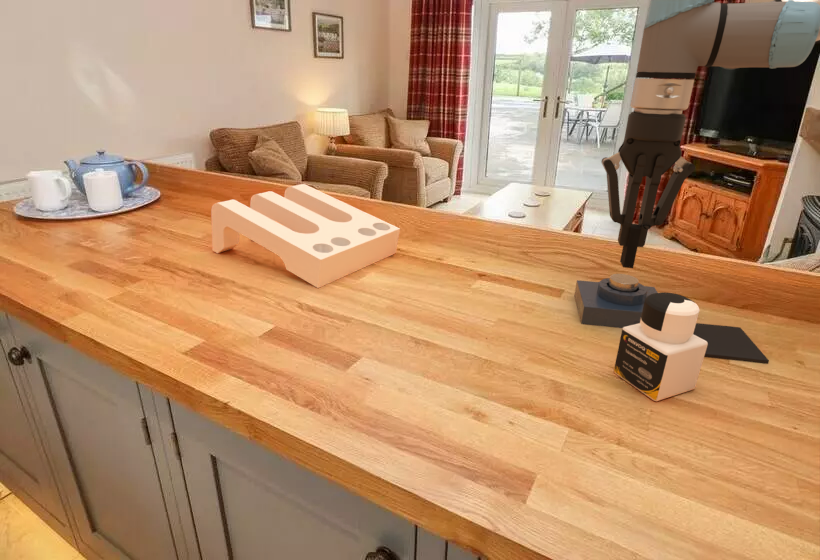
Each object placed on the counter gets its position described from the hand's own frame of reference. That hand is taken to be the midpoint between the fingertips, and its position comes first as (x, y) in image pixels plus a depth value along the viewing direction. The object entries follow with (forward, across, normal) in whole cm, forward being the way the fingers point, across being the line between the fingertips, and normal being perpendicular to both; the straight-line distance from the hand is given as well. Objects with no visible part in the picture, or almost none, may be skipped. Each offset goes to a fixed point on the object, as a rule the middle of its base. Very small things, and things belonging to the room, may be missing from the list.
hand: (626, 264), depth 79 cm
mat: (+9, +13, -7) cm, 17 cm away
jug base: (+9, 0, 0) cm, 9 cm away
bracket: (+9, -62, +16) cm, 65 cm away
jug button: (+4, 0, 0) cm, 4 cm away
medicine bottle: (+9, +1, -20) cm, 22 cm away
